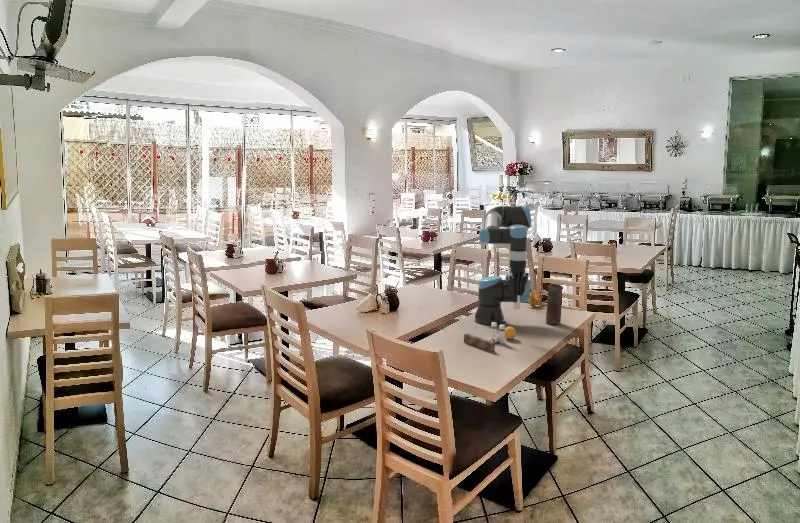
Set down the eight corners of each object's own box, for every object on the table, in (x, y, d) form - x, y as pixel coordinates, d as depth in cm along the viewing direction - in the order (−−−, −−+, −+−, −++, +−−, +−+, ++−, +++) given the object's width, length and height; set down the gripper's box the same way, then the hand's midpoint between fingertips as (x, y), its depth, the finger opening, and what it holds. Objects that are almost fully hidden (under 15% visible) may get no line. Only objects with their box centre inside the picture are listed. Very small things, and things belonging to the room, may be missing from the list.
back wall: (463, 342, 276) (463, 334, 275) (466, 341, 277) (467, 333, 276) (491, 352, 261) (491, 343, 260) (494, 351, 262) (494, 342, 262)
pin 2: (498, 343, 273) (498, 325, 272) (500, 342, 275) (500, 324, 274) (503, 344, 272) (503, 326, 271) (505, 342, 274) (505, 325, 273)
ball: (512, 332, 284) (506, 341, 282) (505, 323, 282) (498, 333, 280) (520, 332, 279) (514, 342, 276) (513, 324, 277) (506, 333, 275)
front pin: (500, 340, 278) (487, 343, 273) (500, 335, 278) (486, 338, 273) (504, 341, 276) (490, 344, 271) (504, 336, 276) (490, 339, 271)
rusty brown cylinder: (559, 321, 308) (561, 284, 305) (562, 325, 301) (563, 287, 298) (544, 321, 309) (546, 283, 306) (546, 325, 302) (548, 286, 298)
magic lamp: (545, 303, 346) (546, 285, 344) (532, 310, 332) (533, 291, 330) (534, 302, 350) (535, 283, 348) (521, 308, 336) (521, 289, 334)
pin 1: (490, 340, 278) (490, 323, 276) (492, 339, 280) (492, 321, 278) (495, 341, 276) (495, 323, 275) (497, 340, 278) (497, 322, 277)
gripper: (521, 257, 283) (520, 305, 287) (502, 260, 276) (501, 309, 280) (533, 259, 277) (532, 308, 281) (514, 262, 270) (512, 312, 274)
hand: (516, 308), depth 281 cm, fingers closed
